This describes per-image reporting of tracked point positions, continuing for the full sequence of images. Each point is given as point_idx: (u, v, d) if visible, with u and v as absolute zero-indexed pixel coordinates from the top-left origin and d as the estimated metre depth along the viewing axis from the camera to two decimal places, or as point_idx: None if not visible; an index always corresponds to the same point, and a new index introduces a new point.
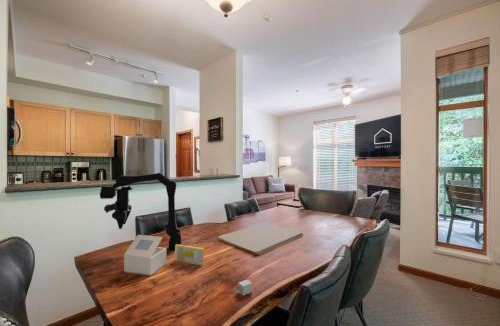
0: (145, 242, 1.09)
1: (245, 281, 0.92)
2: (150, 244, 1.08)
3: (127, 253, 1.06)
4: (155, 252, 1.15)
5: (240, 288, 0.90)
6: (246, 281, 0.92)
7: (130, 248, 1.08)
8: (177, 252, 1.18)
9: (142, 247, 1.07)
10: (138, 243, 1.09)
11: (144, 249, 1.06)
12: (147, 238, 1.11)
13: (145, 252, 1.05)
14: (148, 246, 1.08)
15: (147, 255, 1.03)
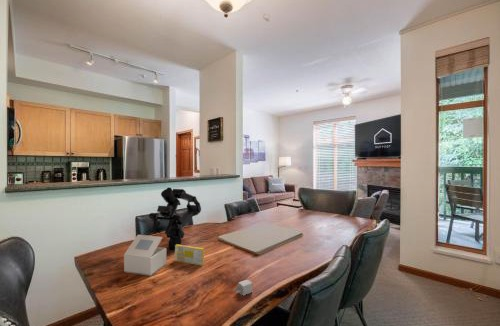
0: (145, 242, 1.09)
1: (245, 281, 0.92)
2: (150, 244, 1.08)
3: (127, 253, 1.06)
4: (155, 252, 1.15)
5: (240, 288, 0.90)
6: (246, 281, 0.92)
7: (130, 248, 1.08)
8: (177, 252, 1.18)
9: (142, 247, 1.07)
10: (138, 243, 1.09)
11: (144, 249, 1.06)
12: (147, 238, 1.11)
13: (145, 252, 1.05)
14: (148, 246, 1.08)
15: (147, 255, 1.03)
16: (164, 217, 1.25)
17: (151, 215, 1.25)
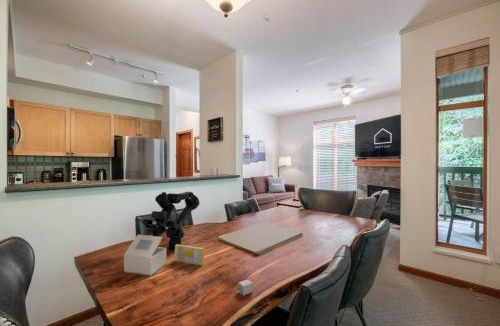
0: (145, 242, 1.09)
1: (245, 281, 0.92)
2: (150, 244, 1.08)
3: (127, 253, 1.06)
4: (155, 252, 1.15)
5: (240, 288, 0.90)
6: (246, 281, 0.92)
7: (130, 248, 1.08)
8: (177, 252, 1.18)
9: (142, 247, 1.07)
10: (138, 243, 1.09)
11: (144, 249, 1.06)
12: (147, 238, 1.11)
13: (145, 252, 1.05)
14: (148, 246, 1.08)
15: (147, 255, 1.03)
16: (158, 223, 1.20)
17: (145, 221, 1.20)
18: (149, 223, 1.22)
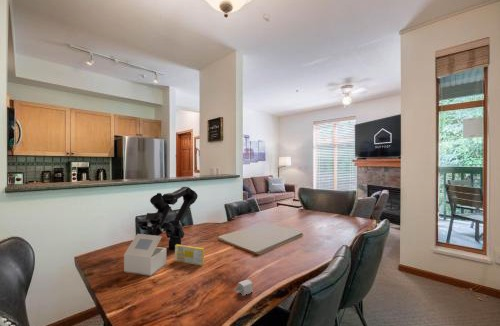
0: (145, 241, 1.09)
1: (246, 281, 0.92)
2: (150, 244, 1.08)
3: (127, 253, 1.06)
4: (155, 252, 1.15)
5: (241, 288, 0.90)
6: (247, 281, 0.92)
7: (130, 248, 1.07)
8: (177, 252, 1.18)
9: (142, 247, 1.07)
10: (138, 243, 1.09)
11: (144, 249, 1.06)
12: (147, 237, 1.11)
13: (145, 252, 1.05)
14: (148, 245, 1.07)
15: (147, 255, 1.03)
16: (153, 225, 1.16)
17: (139, 223, 1.16)
18: (144, 225, 1.18)
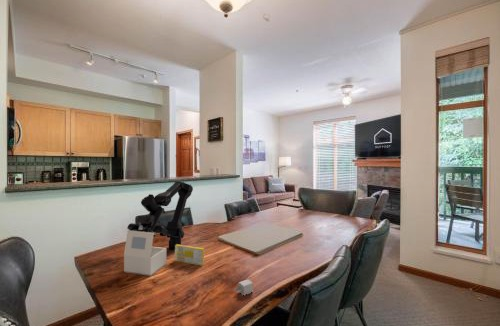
0: (138, 240, 1.05)
1: (246, 281, 0.92)
2: (144, 242, 1.04)
3: (126, 253, 1.05)
4: (155, 252, 1.15)
5: (241, 288, 0.90)
6: (247, 281, 0.92)
7: (127, 247, 1.06)
8: (177, 252, 1.18)
9: (138, 247, 1.04)
10: (132, 241, 1.05)
11: (141, 248, 1.04)
12: (139, 234, 1.06)
13: (143, 252, 1.03)
14: (143, 244, 1.04)
15: (146, 255, 1.03)
16: (145, 228, 1.10)
17: (130, 226, 1.10)
18: (135, 228, 1.12)
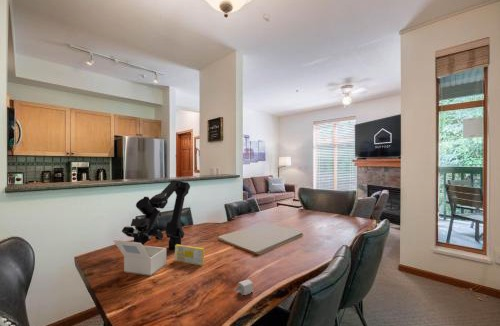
0: (130, 247, 1.00)
1: (246, 281, 0.92)
2: (137, 249, 0.99)
3: (125, 255, 1.05)
4: (155, 252, 1.15)
5: (241, 288, 0.90)
6: (247, 281, 0.92)
7: (122, 251, 1.03)
8: (177, 252, 1.18)
9: (133, 252, 1.01)
10: (124, 248, 1.01)
11: (137, 253, 1.01)
12: (127, 244, 0.98)
13: (140, 255, 1.02)
14: (137, 250, 1.00)
15: (145, 257, 1.02)
16: (140, 232, 1.07)
17: (125, 229, 1.06)
18: (130, 231, 1.08)
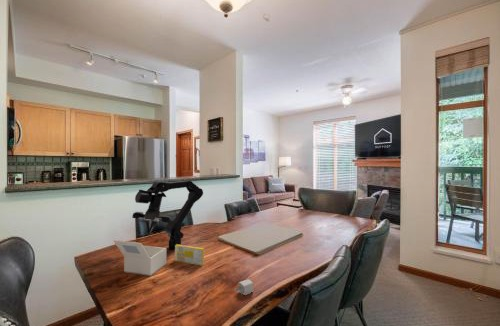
0: (130, 247, 1.00)
1: (246, 281, 0.92)
2: (137, 249, 0.99)
3: (125, 255, 1.05)
4: (155, 252, 1.15)
5: (241, 288, 0.90)
6: (247, 281, 0.92)
7: (122, 251, 1.03)
8: (177, 252, 1.18)
9: (133, 252, 1.01)
10: (124, 248, 1.01)
11: (137, 253, 1.01)
12: (127, 244, 0.98)
13: (140, 255, 1.02)
14: (137, 250, 1.00)
15: (145, 257, 1.02)
16: None
17: (136, 217, 1.20)
18: None
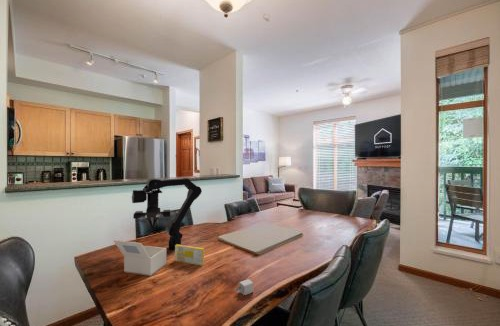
0: (130, 247, 1.00)
1: (246, 281, 0.92)
2: (137, 249, 0.99)
3: (125, 255, 1.05)
4: (155, 252, 1.15)
5: (241, 288, 0.90)
6: (247, 281, 0.92)
7: (122, 251, 1.03)
8: (177, 252, 1.18)
9: (133, 252, 1.01)
10: (124, 248, 1.01)
11: (137, 253, 1.01)
12: (127, 244, 0.98)
13: (140, 255, 1.02)
14: (137, 250, 1.00)
15: (145, 257, 1.02)
16: None
17: (137, 217, 1.22)
18: None
